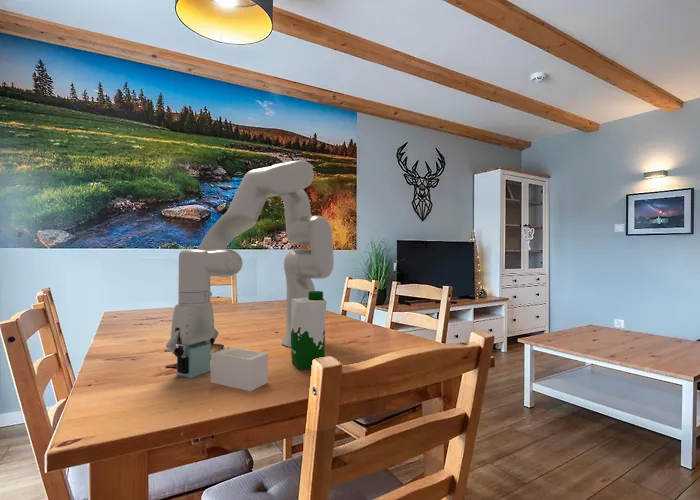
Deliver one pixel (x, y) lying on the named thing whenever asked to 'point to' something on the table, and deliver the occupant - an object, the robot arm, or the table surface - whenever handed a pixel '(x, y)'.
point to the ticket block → (239, 368)
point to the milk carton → (307, 329)
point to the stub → (197, 360)
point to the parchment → (214, 348)
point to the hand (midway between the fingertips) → (194, 368)
